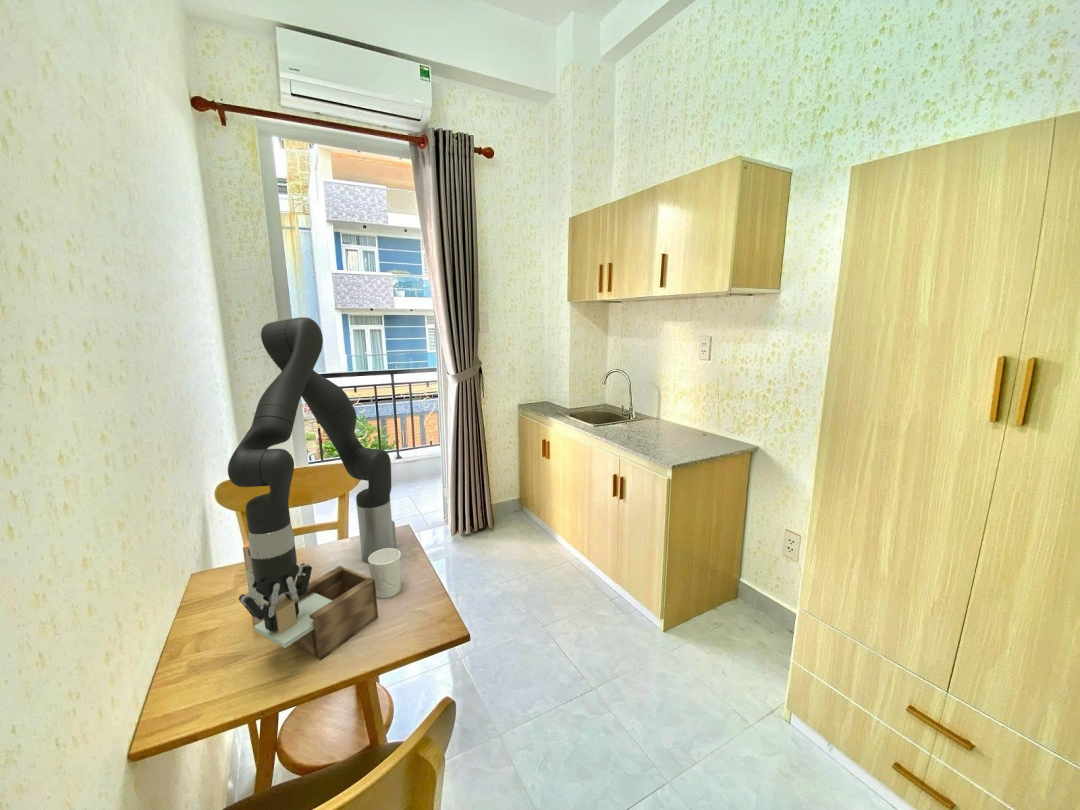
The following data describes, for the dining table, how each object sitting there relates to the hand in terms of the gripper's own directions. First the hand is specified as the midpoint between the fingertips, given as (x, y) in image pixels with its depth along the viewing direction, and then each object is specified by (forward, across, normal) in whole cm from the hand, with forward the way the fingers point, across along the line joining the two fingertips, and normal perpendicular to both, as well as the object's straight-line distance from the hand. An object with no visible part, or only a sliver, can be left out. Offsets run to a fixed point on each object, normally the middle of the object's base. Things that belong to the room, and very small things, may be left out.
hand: (283, 623), depth 88 cm
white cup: (+9, -27, 0) cm, 28 cm away
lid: (+1, -4, 0) cm, 4 cm away
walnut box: (+8, -11, 0) cm, 14 cm away
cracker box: (+9, -9, -18) cm, 22 cm away
